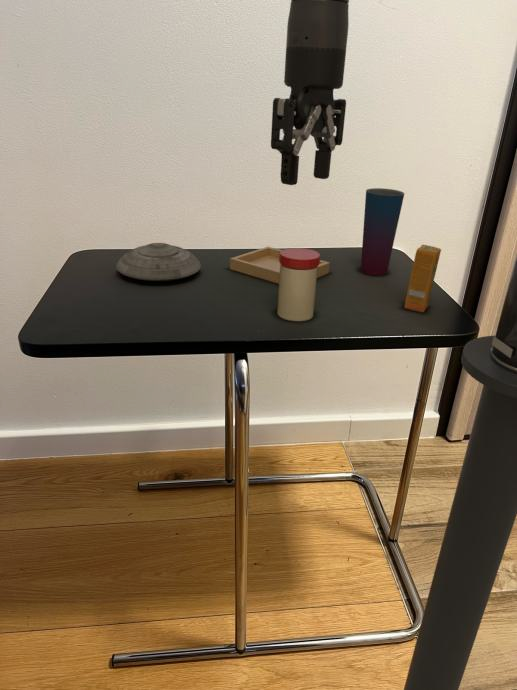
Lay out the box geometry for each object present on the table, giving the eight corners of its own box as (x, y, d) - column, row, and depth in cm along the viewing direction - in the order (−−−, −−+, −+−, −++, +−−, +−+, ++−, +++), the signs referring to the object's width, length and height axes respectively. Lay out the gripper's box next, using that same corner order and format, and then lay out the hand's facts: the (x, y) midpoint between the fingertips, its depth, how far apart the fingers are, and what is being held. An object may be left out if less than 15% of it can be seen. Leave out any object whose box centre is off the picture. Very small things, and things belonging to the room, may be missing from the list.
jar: (320, 313, 84) (326, 256, 80) (300, 324, 80) (305, 264, 76) (290, 304, 87) (294, 248, 83) (269, 314, 83) (273, 256, 79)
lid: (327, 263, 80) (328, 253, 80) (304, 272, 76) (305, 262, 76) (294, 254, 84) (294, 245, 83) (271, 262, 79) (271, 253, 79)
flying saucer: (189, 258, 107) (188, 230, 104) (211, 283, 94) (211, 252, 92) (111, 263, 102) (108, 235, 99) (123, 291, 89) (121, 259, 87)
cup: (353, 274, 102) (363, 192, 96) (358, 264, 108) (368, 186, 101) (389, 279, 100) (402, 196, 94) (393, 268, 106) (405, 190, 100)
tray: (328, 273, 102) (329, 262, 101) (293, 288, 94) (294, 276, 93) (267, 256, 110) (267, 246, 109) (229, 269, 102) (230, 258, 101)
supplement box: (425, 313, 86) (437, 252, 82) (403, 308, 87) (414, 248, 83) (429, 307, 89) (441, 247, 84) (409, 302, 90) (419, 243, 86)
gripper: (309, 41, 60) (298, 191, 68) (370, 49, 71) (354, 179, 78) (257, 41, 64) (252, 183, 72) (321, 49, 75) (311, 172, 82)
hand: (305, 181), depth 75 cm, fingers open, 7 cm apart
